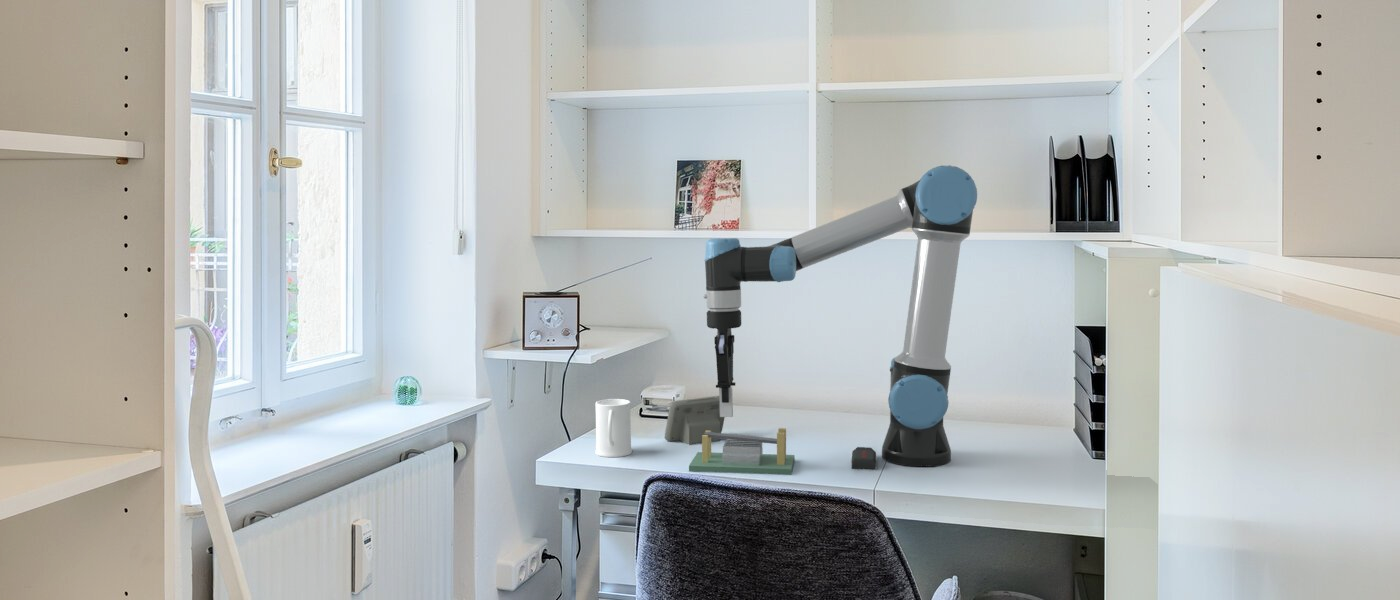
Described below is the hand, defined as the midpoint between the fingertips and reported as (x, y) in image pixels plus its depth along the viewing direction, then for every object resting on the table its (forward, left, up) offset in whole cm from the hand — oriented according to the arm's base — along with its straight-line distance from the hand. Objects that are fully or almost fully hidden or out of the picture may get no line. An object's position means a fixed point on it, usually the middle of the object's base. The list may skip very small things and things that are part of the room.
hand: (726, 416), depth 207 cm
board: (-4, 0, -11) cm, 12 cm away
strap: (-4, 0, -5) cm, 7 cm away
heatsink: (-4, 0, -10) cm, 10 cm away
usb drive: (-30, -6, -12) cm, 33 cm away
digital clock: (+11, -24, -11) cm, 28 cm away
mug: (+27, -6, -11) cm, 30 cm away
